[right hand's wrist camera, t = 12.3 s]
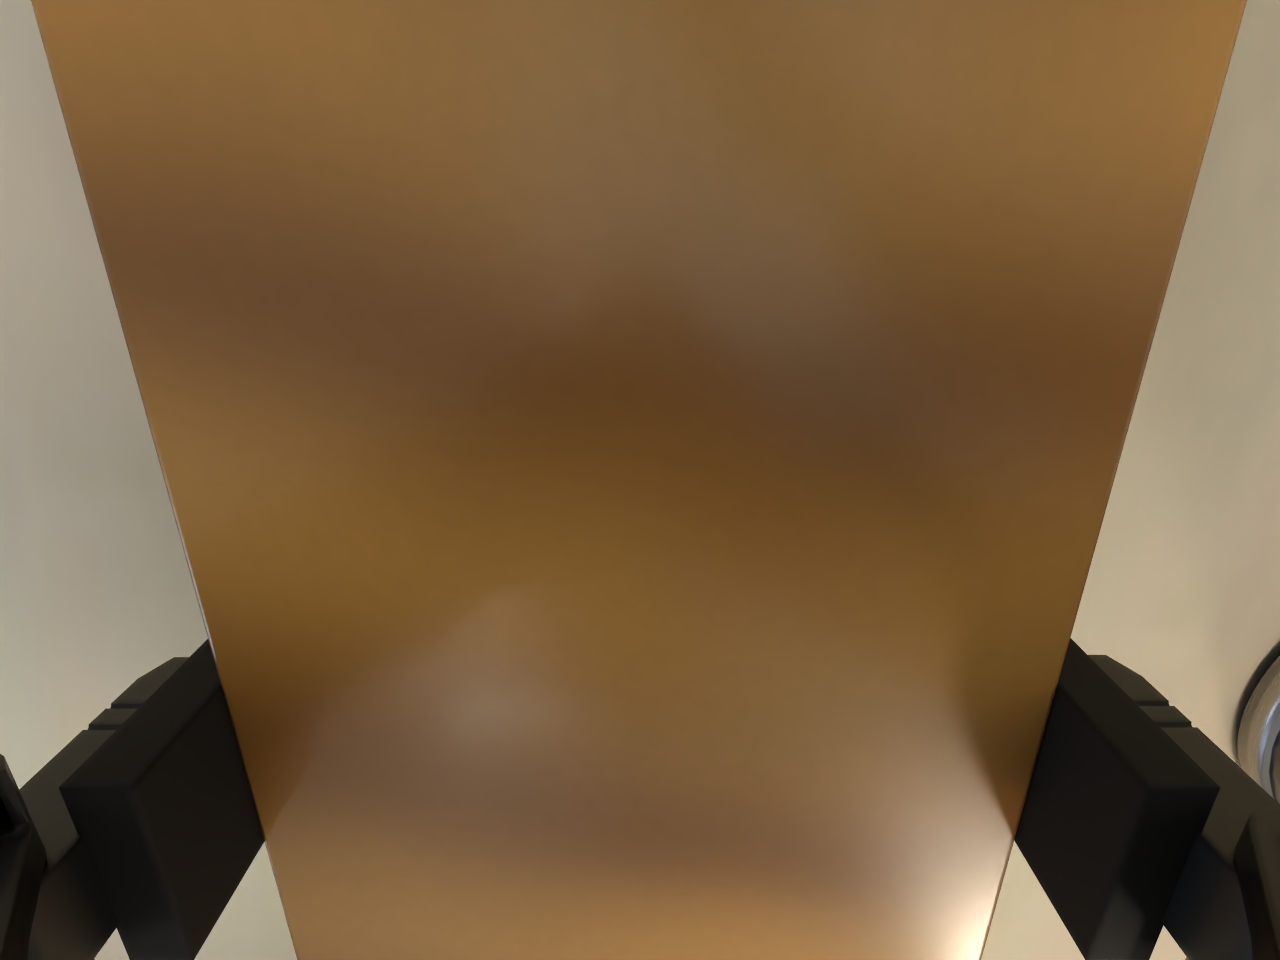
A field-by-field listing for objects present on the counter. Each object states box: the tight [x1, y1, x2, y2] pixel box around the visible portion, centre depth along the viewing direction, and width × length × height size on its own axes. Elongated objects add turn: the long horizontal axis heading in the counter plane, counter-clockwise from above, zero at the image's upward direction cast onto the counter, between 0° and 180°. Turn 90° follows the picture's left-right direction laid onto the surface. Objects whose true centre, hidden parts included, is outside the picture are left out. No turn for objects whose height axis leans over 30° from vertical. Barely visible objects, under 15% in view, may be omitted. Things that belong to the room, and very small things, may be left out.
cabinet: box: [31, 0, 1247, 960], centre depth 11 cm, size 20×11×9 cm, turn 0°
